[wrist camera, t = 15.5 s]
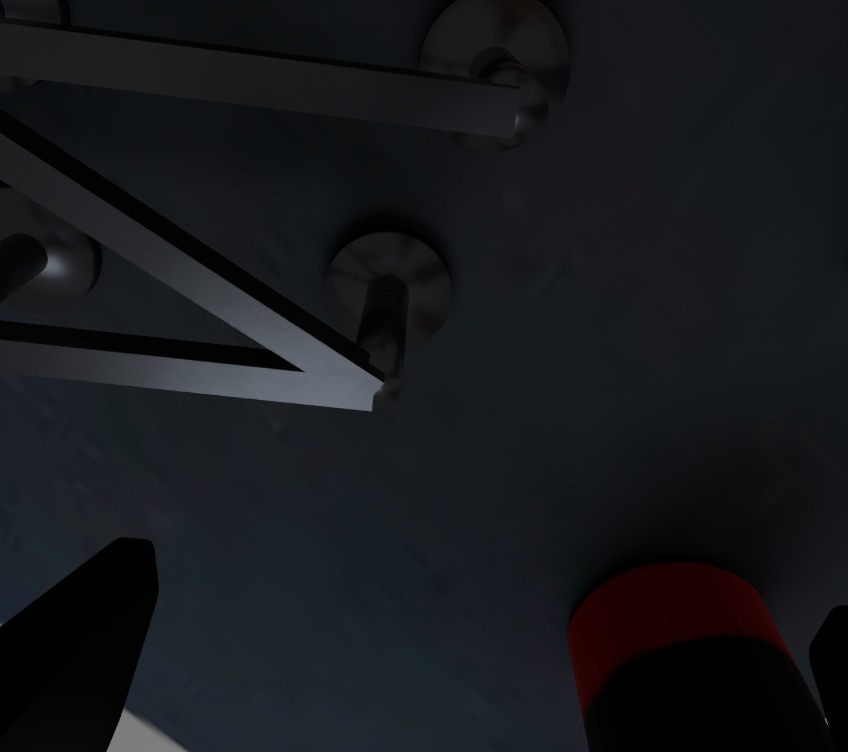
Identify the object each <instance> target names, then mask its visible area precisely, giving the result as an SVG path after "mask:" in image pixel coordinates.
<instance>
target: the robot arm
mask: <svg viewBox="0 0 848 752" xmlns="http://www.w3.org/2000/svg"><path fill="white" fill-rule="evenodd" d="M158 591H159V582H158V574H157V565H156V557H155V549H154V545H153V543H152V542H151V541H150V540H147V539H138V538H127V537H121V538H118V539H116V540H114V541H113V542H111V543H110V544H109V545H107V546H106V547H105V548H103V549H102V550H101V551H99V552H98V553H97V554H96V555H94V556H93V557H92V558H90V559H89V560H88V561H86V562H85V563H84V564H82V565H81V566H80V567H78V568H77V569H76V570H74V571H73V572H72V573H71V574H69V575H68V576H67V577H65V578H64V579H63V580H61V581H60V582H59V583H57V584H56V585H55V586H53V587H52V588H51V589H49V590H48V591H47V592H46V593H44V594H43V595H42V596H40V597H39V598H38V599H36V600H35V601H34V602H32V603H31V604H30V605H28V606H27V607H26V608H24V609H23V610H22V611H21V612H19V613H18V614H17V615H15V616H14V617H13V618H11V619H10V620H9V621H7V622H6V623H5V624H3V625H2V626H1V627H0V752H106V751H107V749H108V747H109V744H110V742H111V740H112V737H113V735H114V732H115V730H116V727H117V725H118V722H119V720H120V717H121V714H122V711H123V708H124V705H125V702H126V699H127V696H128V692H129V689H130V686H131V683H132V680H133V676H134V673H135V670H136V667H137V663H138V660H139V657H140V654H141V651H142V647H143V644H144V641H145V638H146V634H147V631H148V628H149V625H150V622H151V618H152V615H153V612H154V609H155V605H156V602H157V597H158ZM809 659H810V665H811V668H812V672H813V675H814V678H815V682H816V685H817V688H818V692H819V695H820V699H821V702H822V705H823V709H824V712H825V716H826V719H827V722H828V726H829V729H830V733H831V736H832V739H833V743H834V746H835V750H836V752H848V606H844V605H840V606H837V607H835V608H833V609H832V610H831V611H830V613H829V615H828V616H827V618H826V619H825V621H824V623H823V624H822V626H821V628H820V629H819V631H818V632H817V634H816V636H815V637H814V639H813V641H812V642H811V645H810V649H809Z"/></svg>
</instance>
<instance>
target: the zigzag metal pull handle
mask: <svg viewBox="0 0 848 752" xmlns="http://www.w3.org/2000/svg"><path fill="white" fill-rule="evenodd" d="M569 76H570V56H569V49H568V45H567V41H566V38H565V35H564V32H563V30H562V28H561V26H560V24H559V22H558V21H557V19H556V18H555V17H554V15H553V14H552V13H551V12H550V11H549V9H548V8H547V7H546V6H545V5H543V4H542V3H541V2H540V1H538V0H455V1H453V2H452V3H451V4H449V5H448V6H447V7H446V8H445V9H444V10H443V11H442V12H441V13H440V14H439V16H438V17H437V18H436V20H435V21H434V22H433V24H432V26H431V27H430V29H429V31H428V33H427V35H426V38H425V40H424V43H423V47H422V50H421V55H420V61H419V70H412V69H404V68H396V67H389V66H381V65H373V64H365V63H358V62H350V61H342V60H334V59H327V58H319V57H311V56H303V55H295V54H288V53H280V52H272V51H264V50H257V49H249V48H241V47H233V46H226V45H218V44H210V43H202V42H194V41H187V40H179V39H171V38H163V37H156V36H148V35H140V34H132V33H125V32H117V31H109V30H101V29H93V28H86V27H78V26H71V25H70V15H69V9H68V5H67V1H66V0H0V92H6V91H15V90H19V89H23V88H26V87H30V86H33V85H36V84H38V83H41V82H43V81H44V80H48V81H56V82H64V83H72V84H80V85H88V86H96V87H104V88H112V89H120V90H128V91H136V92H144V93H152V94H160V95H168V96H176V97H184V98H192V99H200V100H208V101H216V102H224V103H232V104H240V105H248V106H256V107H264V108H272V109H280V110H288V111H296V112H304V113H312V114H320V115H328V116H336V117H344V118H352V119H360V120H368V121H376V122H384V123H392V124H400V125H408V126H416V127H424V128H432V129H440V131H441V132H443V133H444V134H445V135H446V136H447V137H448V138H450V139H451V140H453V141H454V142H456V143H458V144H460V145H462V146H464V147H466V148H469V149H472V150H477V151H482V152H497V151H504V150H509V149H512V148H515V147H518V146H520V145H522V144H524V143H526V142H528V141H530V140H531V139H533V138H534V137H535V136H537V135H538V134H539V133H540V132H541V131H542V130H544V128H545V127H546V126H547V125H548V124H549V123H550V122H551V120H552V119H553V118H554V116H555V115H556V113H557V112H558V110H559V108H560V106H561V104H562V102H563V99H564V97H565V94H566V90H567V87H568V82H569ZM0 180H2V181H3V182H5V183H6V184H1V185H0V303H2V302H4V303H6V304H8V305H10V306H12V307H15V308H17V309H20V310H24V311H27V312H33V313H44V314H46V313H55V312H60V311H63V310H66V309H68V308H70V307H72V306H74V305H75V304H76V303H78V302H79V301H80V300H81V299H82V298H83V297H84V296H85V295H87V294H88V293H89V292H90V290H91V289H92V288H93V287H94V285H95V284H96V282H97V280H98V278H99V275H100V271H101V263H102V260H101V251H100V246H99V243H98V242H100V243H102V244H103V245H105V246H106V247H108V248H110V249H111V250H113V251H114V252H116V253H117V254H119V255H121V256H122V257H124V258H125V259H127V260H129V261H130V262H132V263H133V264H135V265H137V266H138V267H140V268H141V269H143V270H144V271H146V272H148V273H149V274H151V275H152V276H154V277H156V278H157V279H159V280H160V281H162V282H163V283H165V284H167V285H168V286H170V287H171V288H173V289H175V290H176V291H178V292H179V293H181V294H182V295H184V296H186V297H187V298H189V299H190V300H192V301H194V302H195V303H197V304H198V305H200V306H202V307H203V308H205V309H206V310H208V311H209V312H211V313H213V314H214V315H216V316H217V317H219V318H221V319H222V320H224V321H225V322H227V323H228V324H230V325H232V326H233V327H235V328H236V329H238V330H240V331H241V332H243V333H244V334H246V335H247V336H249V337H251V338H252V339H254V340H255V341H257V342H259V343H260V344H262V345H263V346H265V347H267V348H268V349H270V350H268V349H259V348H249V347H240V346H231V345H222V344H213V343H203V342H194V341H185V340H176V339H166V338H157V337H148V336H139V335H130V334H120V333H111V332H102V331H93V330H83V329H74V328H65V327H56V326H46V325H37V324H28V323H19V322H10V321H0V372H3V373H12V374H22V375H31V376H41V377H51V378H60V379H70V380H79V381H89V382H98V383H108V384H117V385H127V386H136V387H146V388H155V389H165V390H174V391H184V392H193V393H203V394H213V395H222V396H232V397H241V398H251V399H260V400H270V401H279V402H289V403H298V404H308V405H317V406H327V407H336V408H346V409H355V410H365V411H372V409H380V408H385V407H388V406H390V405H391V404H393V403H394V402H395V401H396V400H397V399H398V398H399V396H400V394H401V390H402V379H403V367H404V355H405V349H409V348H412V347H415V346H417V345H419V344H421V343H423V342H425V341H426V340H428V339H429V338H430V337H432V336H433V335H434V334H435V333H436V332H437V331H438V330H439V329H440V327H441V326H442V325H443V323H444V321H445V320H446V318H447V315H448V313H449V310H450V306H451V300H452V286H451V276H450V271H449V268H448V266H447V263H446V261H445V259H444V257H443V256H442V254H441V253H440V251H439V250H438V249H437V248H436V247H435V246H434V245H433V244H432V243H431V242H430V241H429V240H427V239H426V238H425V237H423V236H421V235H420V234H418V233H416V232H413V231H411V230H408V229H405V228H400V227H395V226H381V227H374V228H369V229H367V230H364V231H361V232H359V233H357V234H355V235H354V236H352V237H351V238H349V239H348V240H347V241H346V242H344V243H343V244H342V245H341V247H340V248H339V249H338V250H337V252H336V253H335V255H334V256H333V258H332V261H331V263H330V265H329V268H328V271H327V274H326V278H325V283H324V297H325V303H326V307H327V310H328V312H329V314H330V316H331V318H332V320H333V321H334V323H335V324H336V326H337V327H338V328H339V329H340V330H341V331H342V332H343V333H344V334H345V335H346V336H347V337H349V338H350V339H351V340H353V341H355V342H356V344H355V343H353V342H352V341H350V340H349V339H347V338H346V337H344V336H343V335H341V334H340V333H338V332H336V331H335V330H333V329H332V328H330V327H329V326H327V325H326V324H324V323H323V322H321V321H320V320H318V319H317V318H315V317H314V316H312V315H311V314H309V313H308V312H306V311H305V310H303V309H302V308H300V307H299V306H297V305H296V304H294V303H293V302H291V301H290V300H288V299H287V298H285V297H284V296H282V295H281V294H279V293H278V292H276V291H275V290H273V289H272V288H270V287H269V286H267V285H266V284H264V283H263V282H261V281H260V280H258V279H257V278H255V277H254V276H252V275H250V274H249V273H247V272H246V271H244V270H243V269H241V268H240V267H238V266H237V265H235V264H234V263H232V262H231V261H229V260H228V259H226V258H225V257H223V256H222V255H220V254H219V253H217V252H216V251H214V250H213V249H211V248H210V247H208V246H207V245H205V244H204V243H202V242H201V241H199V240H198V239H196V238H195V237H193V236H192V235H190V234H189V233H187V232H186V231H184V230H183V229H181V228H180V227H178V226H177V225H175V224H174V223H172V222H171V221H169V220H167V219H166V218H164V217H163V216H161V215H160V214H158V213H157V212H155V211H154V210H152V209H151V208H149V207H148V206H146V205H145V204H143V203H142V202H140V201H139V200H137V199H136V198H134V197H133V196H131V195H130V194H128V193H127V192H125V191H124V190H122V189H121V188H119V187H118V186H116V185H115V184H113V183H112V182H110V181H109V180H107V179H106V178H104V177H103V176H101V175H100V174H98V173H97V172H95V171H94V170H92V169H91V168H89V167H88V166H86V165H85V164H83V163H81V162H80V161H78V160H77V159H75V158H74V157H72V156H71V155H69V154H68V153H66V152H65V151H63V150H62V149H60V148H59V147H57V146H56V145H54V144H53V143H51V142H50V141H48V140H47V139H45V138H44V137H42V136H41V135H39V134H38V133H36V132H35V131H33V130H32V129H30V128H29V127H27V126H26V125H24V124H23V123H21V122H20V121H18V120H17V119H15V118H14V117H12V116H11V115H9V114H8V113H6V112H5V111H3V110H2V109H0Z"/></svg>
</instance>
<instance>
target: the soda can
mask: <svg viewBox="0 0 848 752" xmlns="http://www.w3.org/2000/svg"><path fill="white" fill-rule="evenodd" d="M568 645H569V650H570V655H571V660H572V665H573V670H574V676H575V681H576V686H577V691H578V696H579V701H580V706H581V711H582V716H583V721H584V726H585V731H586V736H587V741H588V747H589V752H836V750H835V746H834V743H833V739H832V736H831V733H830V729H829V727H828V725H827V723H826V721H825V719H824V717H823V715H822V713H821V711H820V709H819V707H818V705H817V703H816V702H815V700H814V698H813V696H812V694H811V692H810V690H809V688H808V686H807V684H806V682H805V680H804V678H803V677H802V675H801V673H800V671H799V669H798V667H797V665H796V663H795V661H794V659H793V657H792V655H791V654H790V652H789V650H788V648H787V646H786V644H785V642H784V640H783V638H782V636H781V634H780V632H779V630H778V629H777V627H776V625H775V623H774V621H773V619H772V617H771V615H770V613H769V611H768V609H767V607H766V605H765V604H764V602H763V600H762V598H761V597H760V595H759V594H758V592H757V591H756V589H755V588H754V587H752V586H751V585H750V584H749V583H748V582H747V581H745V580H744V579H743V578H741V577H739V576H737V575H735V574H733V573H731V572H729V571H727V570H724V569H721V568H717V567H714V566H711V565H708V564H704V563H698V562H691V561H663V562H657V563H650V564H646V565H642V566H639V567H636V568H632V569H629V570H627V571H625V572H623V573H620V574H618V575H616V576H614V577H612V578H611V579H609V580H608V581H606V582H604V583H603V584H601V585H600V586H599V587H598V588H597V589H595V590H594V591H593V592H592V593H591V594H590V595H589V596H588V597H587V598H586V600H585V601H584V602H583V603H582V605H581V606H580V608H579V609H578V610H577V612H576V613H575V615H574V617H573V619H572V622H571V624H570V627H569V632H568Z"/></svg>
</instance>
